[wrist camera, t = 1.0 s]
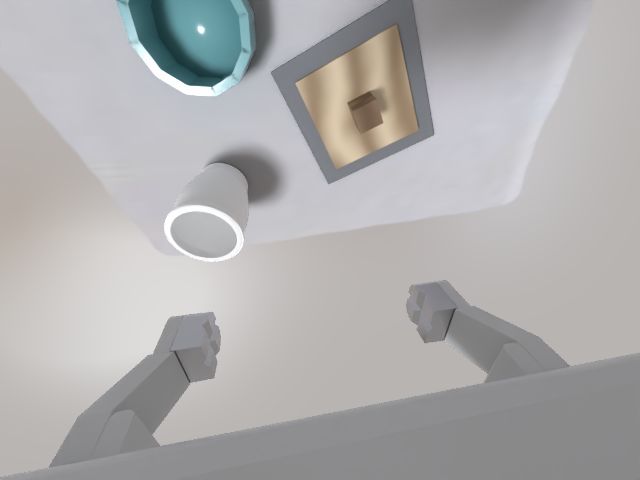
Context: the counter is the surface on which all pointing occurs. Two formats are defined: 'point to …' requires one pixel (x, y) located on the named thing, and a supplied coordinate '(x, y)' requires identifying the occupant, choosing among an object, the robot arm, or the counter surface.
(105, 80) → the counter surface
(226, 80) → the bowl
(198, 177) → the jar
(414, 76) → the mat
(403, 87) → the lid
